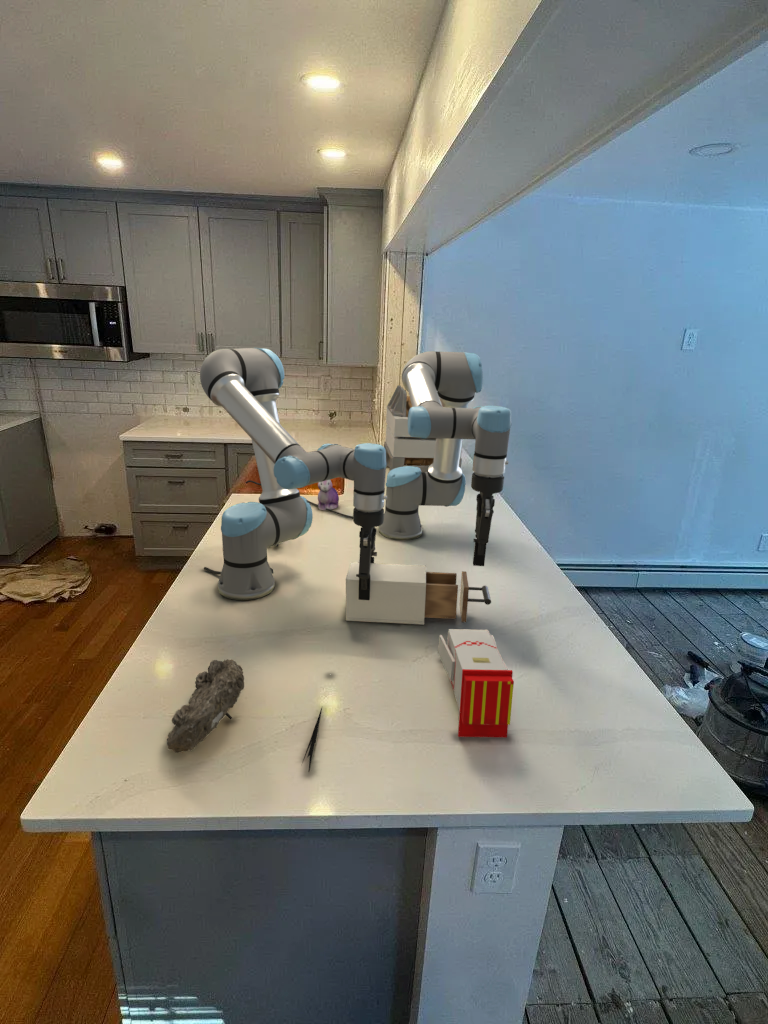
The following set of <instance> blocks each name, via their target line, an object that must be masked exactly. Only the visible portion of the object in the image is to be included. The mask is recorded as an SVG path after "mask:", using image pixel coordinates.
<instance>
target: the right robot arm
mask: <svg viewBox="0 0 768 1024" xmlns="http://www.w3.org/2000/svg"><path fill="white" fill-rule="evenodd" d="M483 378H484V372H483V364H482V359H481V358H480V356H479V355H478V354H477V353H473V352H466V351H437V350H436V351H435V350H429V351H424V352H421V353H418V354H416V355H414V356H413V357H412V358H410V359H408V361H407V363H405V365H404V366H403V369H402V371H401V382H402V386H403V389H404V390H406V392H408V396H410V400H411V404H412V407H411V408H410V410H409V413H408V433H409V435H410V436H411V437H418V438H423V439H424V438H436V446H435V454H434V462H433V464H431V465H430V466H429V465H428V466H427V471H422V469H421V468H420V466H407V465H404V467H398V468H395V469H392V470H391V471H390V470H388V473H387V475H386V481H385V487H386V488H385V495H386V496H387V499H385V503H384V508H385V509H384V522H383V524H382V525H380V526H378V533H379V534H380V535H381V536H382V537H385V538H387V539H389V540H395V541H410V540H415V539H418V538H420V537H421V536H422V535H423V529H424V527H423V525H422V524H421V518H420V515H419V507H420V506H427V507H428V506H429V507H433V506H434V507H446V508H447V507H457V506H458V505H459V504H461V502H462V501H463V499H464V496H465V492H466V485H467V484H466V483H467V482H466V481H467V480H466V476H465V474H464V473H463V470H462V467H461V468H460V467H459V460H460V454H461V455H462V453H461V447H462V448H463V443H462V441H463V442H464V440H474V441H475V442H474V451H473V452H474V453H473V459H472V468H471V471H472V472H473V473H472V474H471V480H470V481H471V482H470V487H471V489H472V490H473V491H475V492H478V493H477V494H476V499H475V500H476V508H475V509H476V510H475V511H476V517H475V529H474V533H475V535H474V537H475V538H473V540H472V541H473V543H474V547H473V555H472V556H473V557H472V566H474V567H475V566H476V567H485V562H486V553H487V544H489V541H490V540H489V539H490V532H491V526H492V521H493V516H494V512H495V511H494V507H495V503H496V502H495V501H496V499H495V498H494V497H495V496H494V494H499V493H501V492H502V491H503V490H504V483H505V476H504V474H505V473H506V466H508V465H509V463H510V462H509V460H507V457H508V449H509V441H510V432H511V428H512V410H511V409H510V408H508V407H504V406H501V405H500V406H499V405H482V406H481V405H477V406H474V407H471V408H470V407H469V404H470V403H471V402H472V401H474V399H475V396H476V395H475V394H479V393H481V392H482V389H483V386H484V385H483V384H484V383H483V382H484V379H483ZM440 399H441V401H440ZM248 483H252V484H255V485H258V486H261V482H260V483H259V482H257V481H254V480H250V479H248V480H246V481H245V484H248ZM307 503H309V504H310V505H313V506H314V507H317V508H318V507H319V506H318V503H314V502H312V501H310V500H308V499H307ZM325 511H327V512H329V513H333V514H336V515H339V516H342V517H345V518H349V519H352V520H353V515H352V516H351V515H348V514H345V513H342V512H339V511H335V510H334V509H331V510H330V509H327V508H326V510H325Z"/></svg>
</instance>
